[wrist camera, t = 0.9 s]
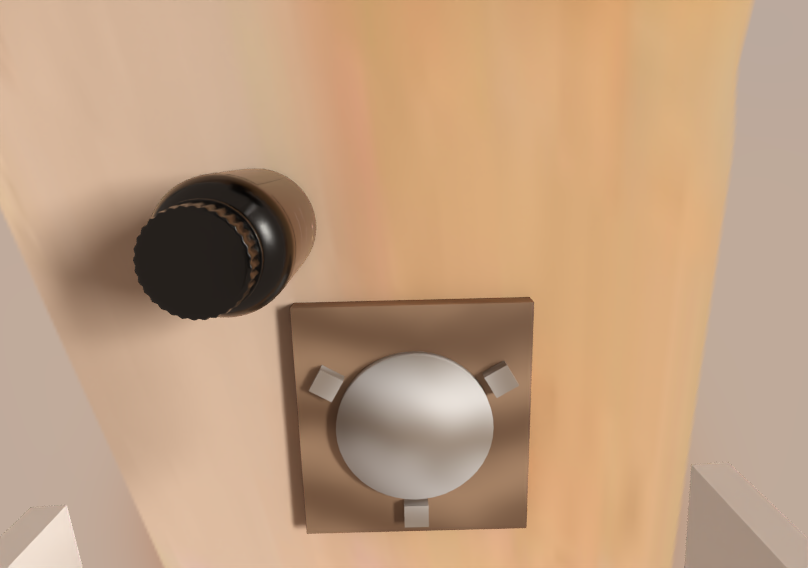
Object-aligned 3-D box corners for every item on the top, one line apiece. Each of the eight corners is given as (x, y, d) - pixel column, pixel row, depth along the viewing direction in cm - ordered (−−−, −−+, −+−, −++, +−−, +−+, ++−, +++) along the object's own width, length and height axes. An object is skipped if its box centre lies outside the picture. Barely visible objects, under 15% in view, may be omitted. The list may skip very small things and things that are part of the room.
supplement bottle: (204, 272, 34) (101, 333, 22) (209, 161, 32) (102, 164, 20) (314, 285, 34) (269, 353, 22) (324, 176, 32) (282, 187, 21)
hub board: (293, 303, 34) (287, 312, 32) (529, 297, 34) (537, 305, 32) (309, 522, 38) (304, 541, 36) (522, 516, 38) (529, 536, 36)
